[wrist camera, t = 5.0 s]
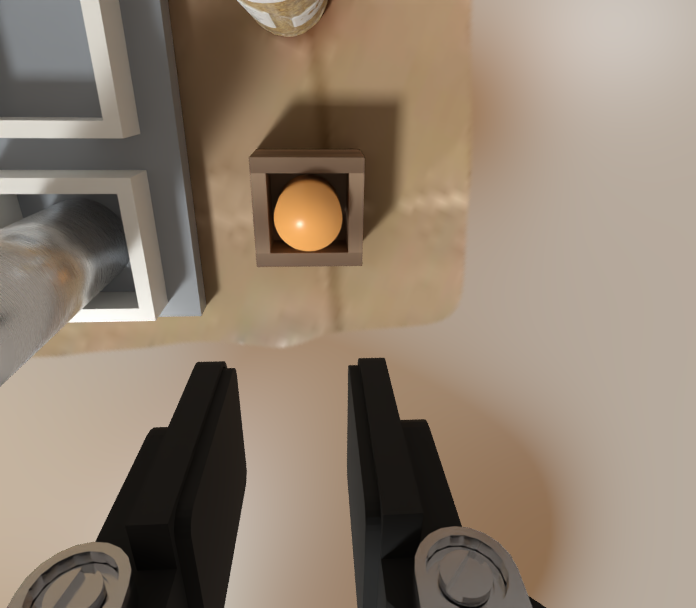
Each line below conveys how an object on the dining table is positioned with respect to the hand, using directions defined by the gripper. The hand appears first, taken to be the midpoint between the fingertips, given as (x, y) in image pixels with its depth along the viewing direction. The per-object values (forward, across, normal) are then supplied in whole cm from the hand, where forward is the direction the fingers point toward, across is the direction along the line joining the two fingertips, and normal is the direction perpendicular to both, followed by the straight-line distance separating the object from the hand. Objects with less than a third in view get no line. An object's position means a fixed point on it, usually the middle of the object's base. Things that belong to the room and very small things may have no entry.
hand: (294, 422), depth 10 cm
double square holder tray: (+21, +13, -3) cm, 25 cm away
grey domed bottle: (+20, +13, +2) cm, 24 cm away
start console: (+21, 0, 0) cm, 21 cm away
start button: (+20, 0, 0) cm, 20 cm away
